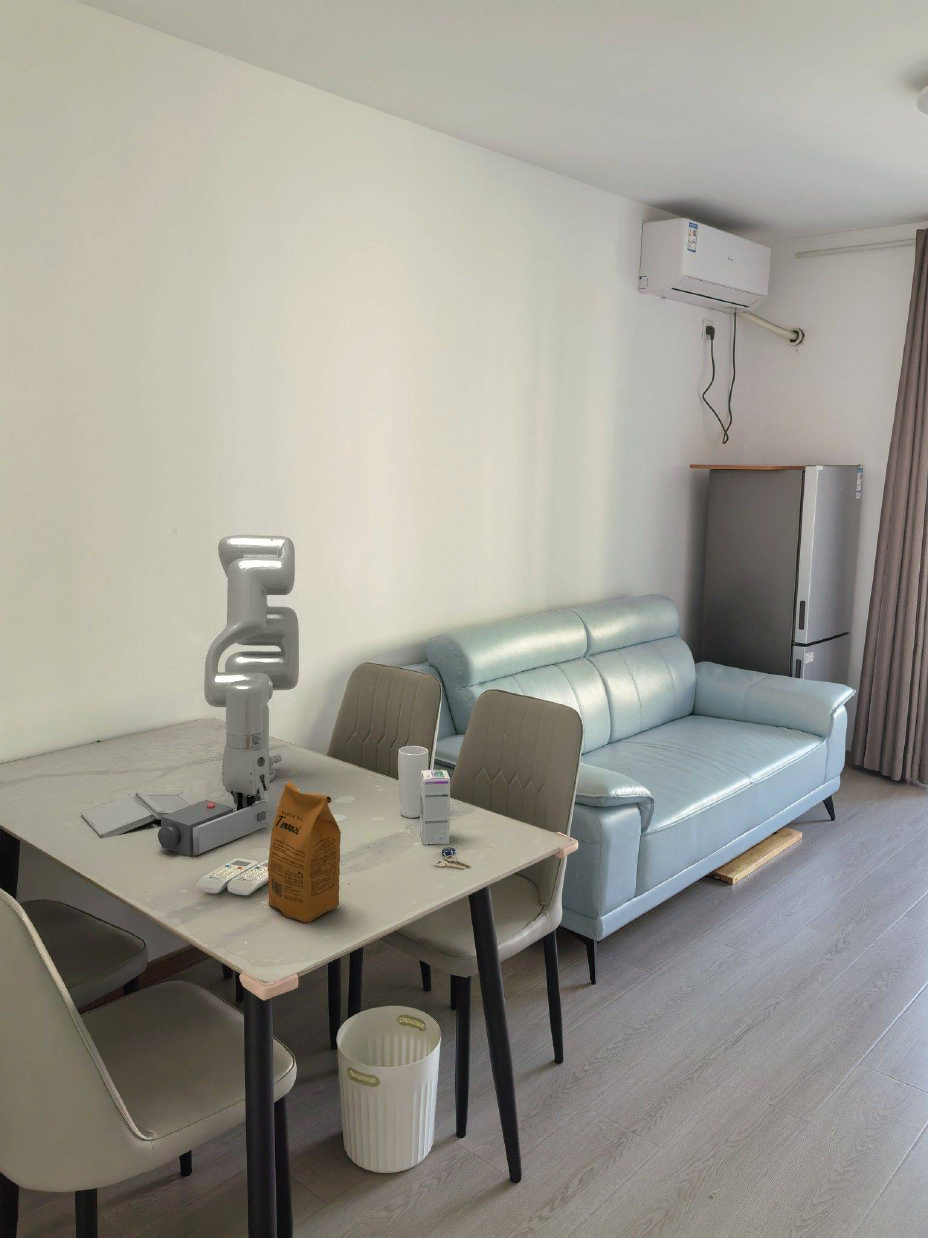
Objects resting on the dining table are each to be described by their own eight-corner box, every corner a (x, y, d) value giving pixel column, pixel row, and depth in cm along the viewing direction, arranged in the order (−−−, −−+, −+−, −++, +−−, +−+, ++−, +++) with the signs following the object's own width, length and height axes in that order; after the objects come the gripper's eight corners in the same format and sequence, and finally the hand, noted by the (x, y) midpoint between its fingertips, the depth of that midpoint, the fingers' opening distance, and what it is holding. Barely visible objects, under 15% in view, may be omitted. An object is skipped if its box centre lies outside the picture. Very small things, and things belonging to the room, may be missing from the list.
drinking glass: (433, 814, 215) (435, 750, 212) (411, 822, 210) (413, 756, 208) (412, 806, 219) (413, 743, 217) (390, 814, 215) (391, 749, 212)
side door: (263, 825, 205) (263, 800, 204) (269, 826, 204) (269, 802, 203) (191, 854, 188) (191, 828, 188) (197, 856, 188) (196, 830, 187)
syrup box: (449, 844, 199) (452, 777, 196) (421, 845, 198) (423, 778, 195) (445, 834, 204) (448, 769, 202) (418, 834, 203) (420, 769, 201)
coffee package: (303, 887, 177) (304, 773, 173) (347, 909, 169) (349, 790, 165) (258, 904, 170) (258, 785, 166) (302, 928, 161) (302, 804, 158)
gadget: (101, 841, 196) (100, 824, 195) (80, 818, 207) (79, 802, 207) (207, 819, 209) (207, 803, 209) (182, 799, 221) (182, 783, 220)
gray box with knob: (206, 828, 202) (206, 796, 201) (234, 837, 198) (233, 805, 197) (153, 850, 191) (153, 816, 190) (181, 860, 187) (181, 825, 185)
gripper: (283, 742, 199) (282, 825, 202) (232, 729, 207) (233, 809, 210) (257, 750, 193) (257, 836, 196) (206, 736, 201) (206, 819, 204)
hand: (244, 822), depth 203 cm, fingers closed
